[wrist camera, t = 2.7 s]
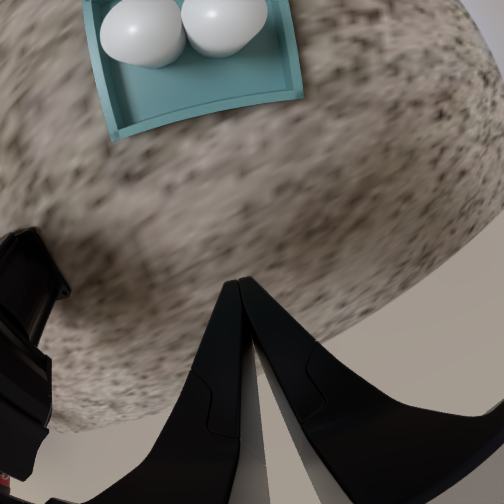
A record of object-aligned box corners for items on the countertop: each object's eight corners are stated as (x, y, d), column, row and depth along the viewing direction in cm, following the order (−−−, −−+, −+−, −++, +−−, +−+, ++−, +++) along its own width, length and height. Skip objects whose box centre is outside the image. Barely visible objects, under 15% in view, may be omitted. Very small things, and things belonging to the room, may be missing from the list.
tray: (290, 95, 14) (304, 98, 12) (123, 133, 14) (112, 142, 12) (266, -31, 9) (276, -46, 7) (96, 7, 8) (81, -2, 6)
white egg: (192, 59, 11) (188, 47, 8) (134, 76, 11) (107, 74, 7) (182, 9, 9) (174, -18, 6) (123, 28, 9) (95, 10, 6)
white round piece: (248, 58, 12) (266, 46, 8) (187, 60, 11) (179, 48, 7) (249, 8, 10) (268, -19, 6) (188, 8, 9) (183, -20, 6)
